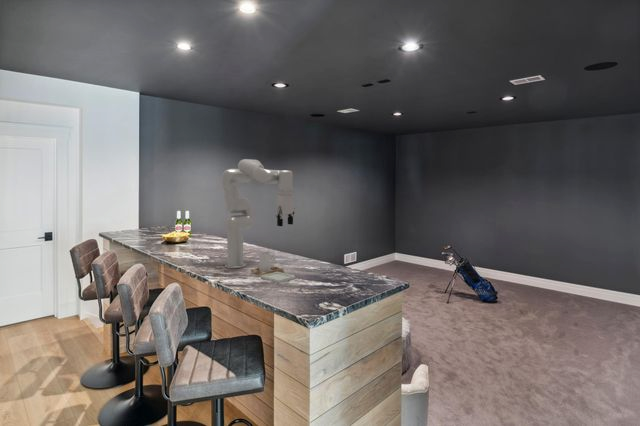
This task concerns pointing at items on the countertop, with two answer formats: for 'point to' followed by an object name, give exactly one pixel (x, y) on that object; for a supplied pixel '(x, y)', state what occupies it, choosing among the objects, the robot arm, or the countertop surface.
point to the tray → (278, 277)
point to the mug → (265, 261)
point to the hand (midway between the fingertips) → (285, 225)
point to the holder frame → (258, 272)
